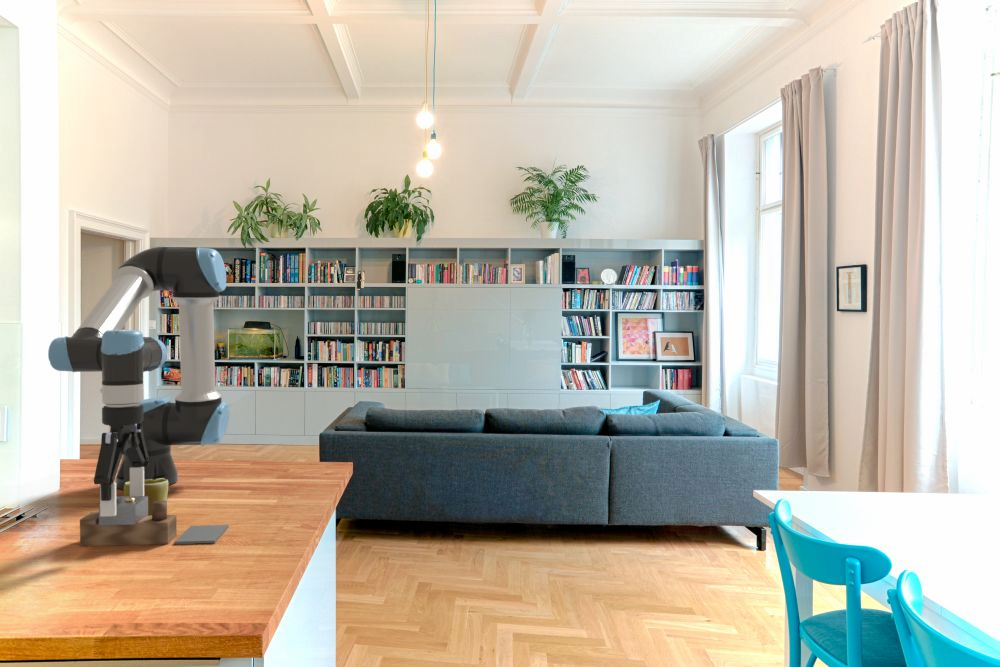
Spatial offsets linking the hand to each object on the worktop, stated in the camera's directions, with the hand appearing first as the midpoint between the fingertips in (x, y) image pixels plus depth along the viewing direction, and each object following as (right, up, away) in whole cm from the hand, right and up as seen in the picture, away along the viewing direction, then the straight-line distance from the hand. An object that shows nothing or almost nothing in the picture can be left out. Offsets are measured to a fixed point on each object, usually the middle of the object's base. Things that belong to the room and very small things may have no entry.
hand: (123, 506), depth 139 cm
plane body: (+1, -8, +1) cm, 8 cm away
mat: (+15, -8, +5) cm, 17 cm away
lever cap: (0, -3, +1) cm, 3 cm away
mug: (-4, -7, +19) cm, 21 cm away
